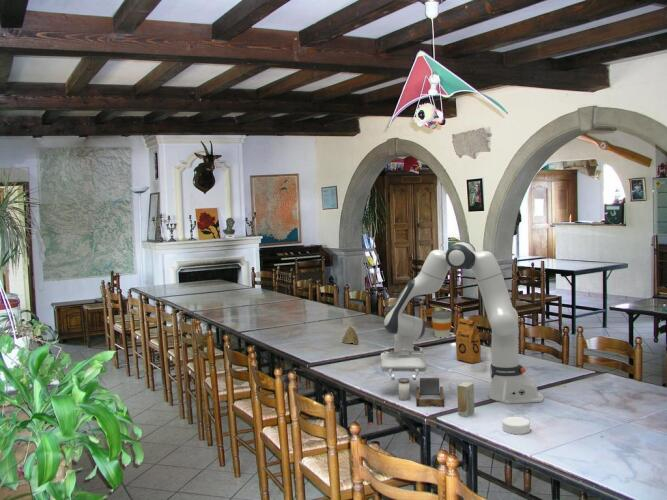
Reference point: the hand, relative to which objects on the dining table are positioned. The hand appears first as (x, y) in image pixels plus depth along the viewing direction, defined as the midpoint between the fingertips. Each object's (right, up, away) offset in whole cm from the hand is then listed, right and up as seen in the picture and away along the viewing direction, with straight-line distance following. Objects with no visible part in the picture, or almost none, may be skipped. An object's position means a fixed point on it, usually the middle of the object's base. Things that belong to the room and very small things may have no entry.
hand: (403, 379), depth 283 cm
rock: (-20, -1, +110) cm, 111 cm away
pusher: (+12, -7, +5) cm, 15 cm away
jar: (0, -8, -2) cm, 8 cm away
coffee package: (+41, -2, +58) cm, 71 cm away
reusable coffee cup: (+37, +2, +120) cm, 125 cm away
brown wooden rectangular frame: (+11, -8, -5) cm, 14 cm away
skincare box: (+22, -9, -24) cm, 34 cm away
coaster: (+37, -10, -43) cm, 58 cm away
